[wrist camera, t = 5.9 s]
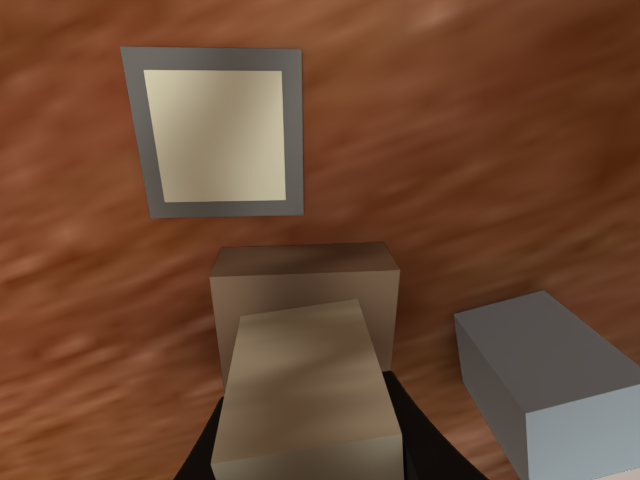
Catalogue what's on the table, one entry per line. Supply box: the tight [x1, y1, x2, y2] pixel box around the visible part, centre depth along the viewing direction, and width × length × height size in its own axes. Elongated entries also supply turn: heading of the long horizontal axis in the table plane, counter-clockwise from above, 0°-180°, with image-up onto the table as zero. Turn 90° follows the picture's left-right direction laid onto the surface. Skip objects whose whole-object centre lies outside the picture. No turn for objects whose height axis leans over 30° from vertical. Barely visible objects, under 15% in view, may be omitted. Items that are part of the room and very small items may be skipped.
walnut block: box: [209, 242, 400, 394], centre depth 16 cm, size 7×7×3 cm
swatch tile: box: [120, 47, 304, 218], centre depth 14 cm, size 6×6×1 cm
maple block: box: [211, 299, 404, 480], centre depth 12 cm, size 4×4×6 cm
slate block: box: [453, 290, 640, 480], centre depth 16 cm, size 4×4×6 cm
